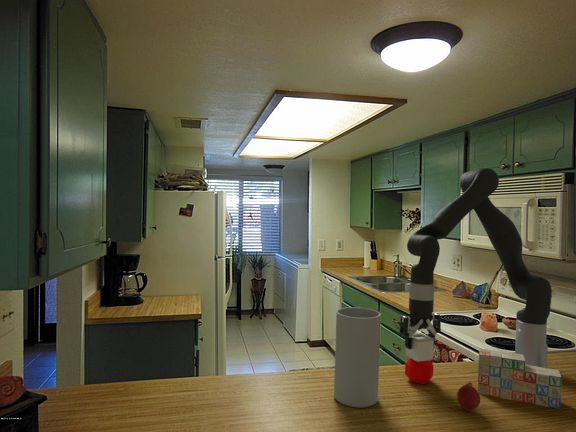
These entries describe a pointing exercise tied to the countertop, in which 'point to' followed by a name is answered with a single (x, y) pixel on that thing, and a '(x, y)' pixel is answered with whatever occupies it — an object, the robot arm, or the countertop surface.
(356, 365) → the cylinder vase
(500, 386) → the stack of blocks
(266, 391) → the countertop surface
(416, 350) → the socket block
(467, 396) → the onion
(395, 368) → the countertop surface
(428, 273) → the robot arm
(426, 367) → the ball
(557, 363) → the countertop surface
